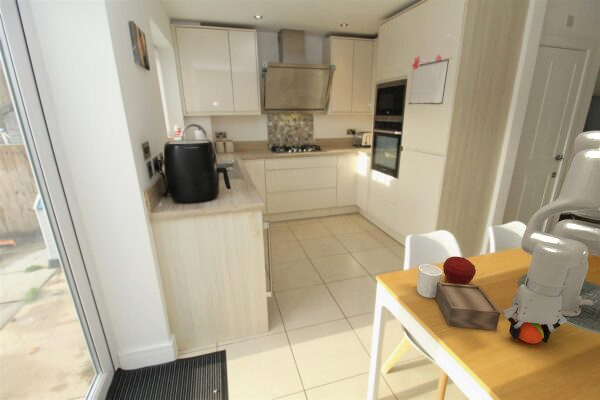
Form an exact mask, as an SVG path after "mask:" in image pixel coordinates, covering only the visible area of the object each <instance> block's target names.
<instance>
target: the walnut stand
mask: <svg viewBox="0 0 600 400" xmlns="http://www.w3.org/2000/svg"><path fill="white" fill-rule="evenodd" d="M434 298H435V301H436V303H437V305H438V307H439V310H440V311H441V313H442V316H443V317H444V320H445V322H446V324H447V326H450V327H458V328H467V329H475V330H484V331H493V332H494V331H495V332H497V329H498V324H499V320H500V316H501V311H500V310H499V309H498V307H497V306H496V305H495V303H494V302H493V301H492V300H491V299H490V297H489V296H488V294H487V293H486V291H484V289H483V288H482V286H480V285H473V284H472V285H471V284H467V285H461V284H451V283H450V282H440V283H438V284H437V290H436V297H434Z"/></svg>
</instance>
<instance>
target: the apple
mask: <svg viewBox="0 0 600 400" xmlns="http://www.w3.org/2000/svg"><path fill="white" fill-rule="evenodd" d="M442 268H443V269H442V272H443V273H444V277H445V279H446V280H447V281H448V283H450V284H461V285H469V283H471V281H473V279H474V277H475V275H476V265H474V264H473V263H472V262H471V261H470V260H469V259H468V258H465V257H462V256H449V257H448V258H446V260H445V261H444V262H443V265H442Z"/></svg>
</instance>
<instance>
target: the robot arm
mask: <svg viewBox="0 0 600 400" xmlns="http://www.w3.org/2000/svg"><path fill="white" fill-rule="evenodd" d="M573 146H574V154H575V156H574V157H573V159H572V162H571V164H570V167H569V168H568V171H567V173H566V174H567V175H566V177H565V180H564V182H563V185H562V187H561V190H560V193H559V195H558V197H557V199H555V200H554V201H551V202H550V203H548V204H546V205H544V206H542V207H540V208H539V209H538V210H536V211H535V213H534V214H532V216H531V217H530V219H529V220H528V222H527V225H526V228H525V230H524V233H523V236H522V238H521V242H520V246H521V250H522V251H523V252H525V253H526V254H528V255H531V259H530V262H529V263H530V264H529V266H528V271H527V274H526V278H525V282H524V284H521V285H520V286H519V287H518V288H517V291H516V293H515V295H514V297H513V300H512V302H511V305H510V307H508V308H506V309H504V310H502V311H501V312H502V314H503V315H504V317H505V318H506V320H507V321H509V323H510V326H509V331H508V332H509V334H510V335H511V337H512V338H513V339H514V340H515V341H518V340H519V334H520V328H519V327H520V326H521V325H522V324H523V323H524V322H530V323H539V324H540V326H541V327H542V329H543V332H544V338H543V339H542V340H541V341H542V342H543V343H544V344H548V342H549V339H550V337H551V333H554V332H555V330H556V329H558V328H559V327H560V326H561V325H563V324H565V323H567V321H568V319H567V318H566V317H578V316H579V315H580V314H581V313H582V309H581V307H580V306H589V307H592V306H593V305H594V301H593V300H591V299H583V296H581V295H580V294H581V292H582V287H583V285H584V282H585V279H586V277H587V273H588V270H589V267H590V266H589V261H588V259H589V256H590V255H594V256H596V257H600V224H597V223H593V222H587V221H583V220H578V219H563V220H560V221H558V222H557V223H556V224H555V226H554V229H553V234H551V233H549V232H548V233H547V232H545V231H541V230H540V228H541V226H542V225H543V223H544V222H545V221H546V220H548V219H549V218H551V217H553V216H556V215H560V214H564V213H571V214H573V215H575V216H577V217H582V218H586V219H590V220H594V221H600V130H589V131H588V130H587V131H583V132H581V133H580V134H578V135H577V136H576V138H575V139H574V145H573ZM564 316H565V317H564ZM517 320H518V321H517ZM516 321H517V322H516Z"/></svg>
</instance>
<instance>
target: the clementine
mask: <svg viewBox="0 0 600 400" xmlns="http://www.w3.org/2000/svg"><path fill="white" fill-rule="evenodd" d="M517 321H518V319H517V320H516V322H517ZM540 325H541V324H539V323H530V322H524V323H523V324H522V325H521V326H520V327H519V328H520V334H519V337H518V339H519V340H521V341H523V342H524V343H527V344H538V343H540V342H541V341H542V339H543V338H544V332H543V329H542V327H541V326H540Z"/></svg>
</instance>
